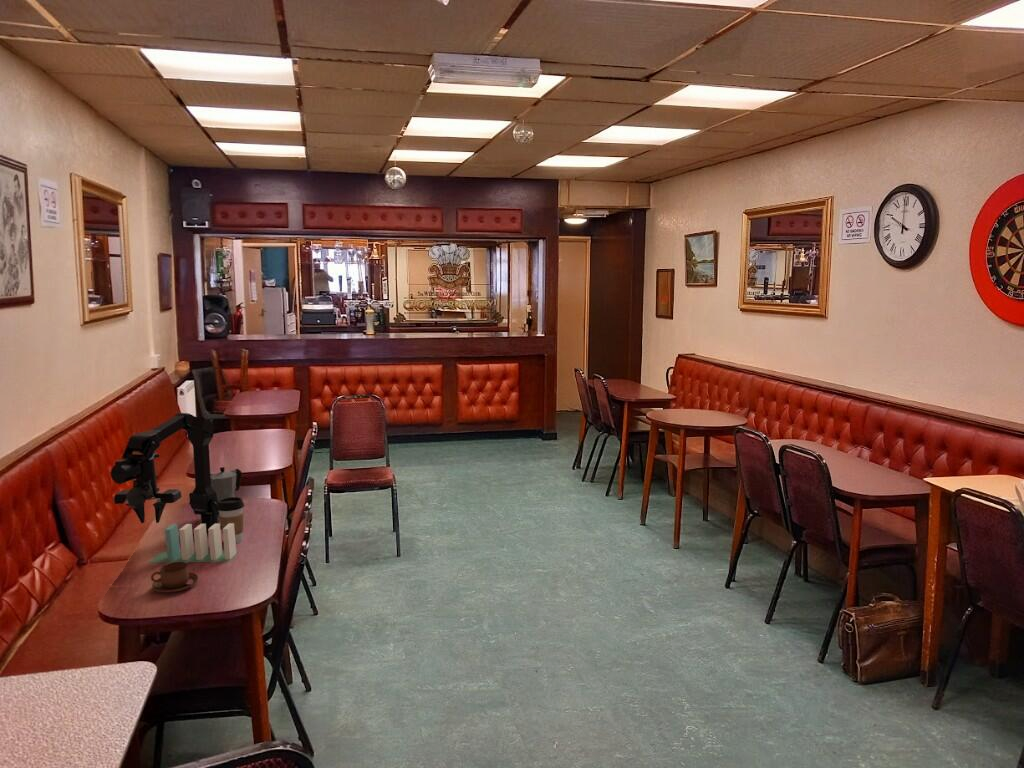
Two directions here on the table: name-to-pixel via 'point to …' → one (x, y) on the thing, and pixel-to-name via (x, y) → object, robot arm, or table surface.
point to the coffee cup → (232, 515)
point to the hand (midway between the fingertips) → (150, 522)
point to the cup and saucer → (173, 578)
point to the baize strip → (164, 558)
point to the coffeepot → (226, 483)
